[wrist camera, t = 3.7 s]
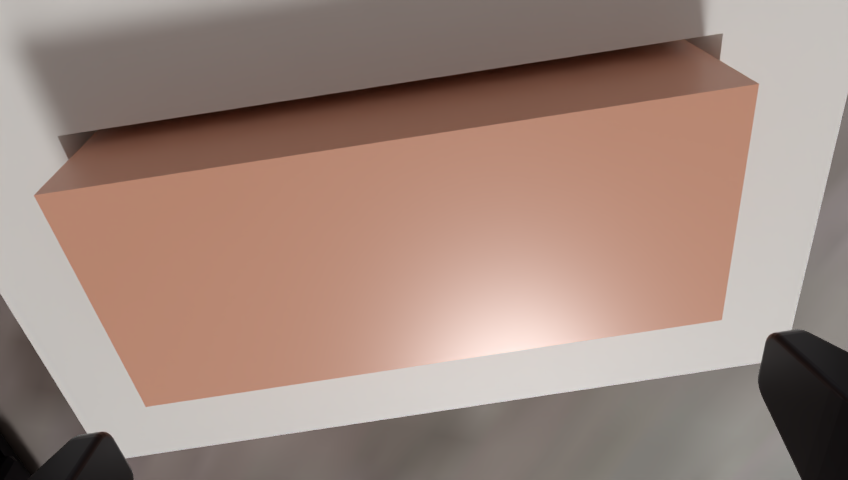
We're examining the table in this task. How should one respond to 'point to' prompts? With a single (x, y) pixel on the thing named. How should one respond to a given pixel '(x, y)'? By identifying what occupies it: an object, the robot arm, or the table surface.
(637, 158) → the salmon orange rectangular block
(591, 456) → the table surface
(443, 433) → the table surface
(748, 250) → the white tray
